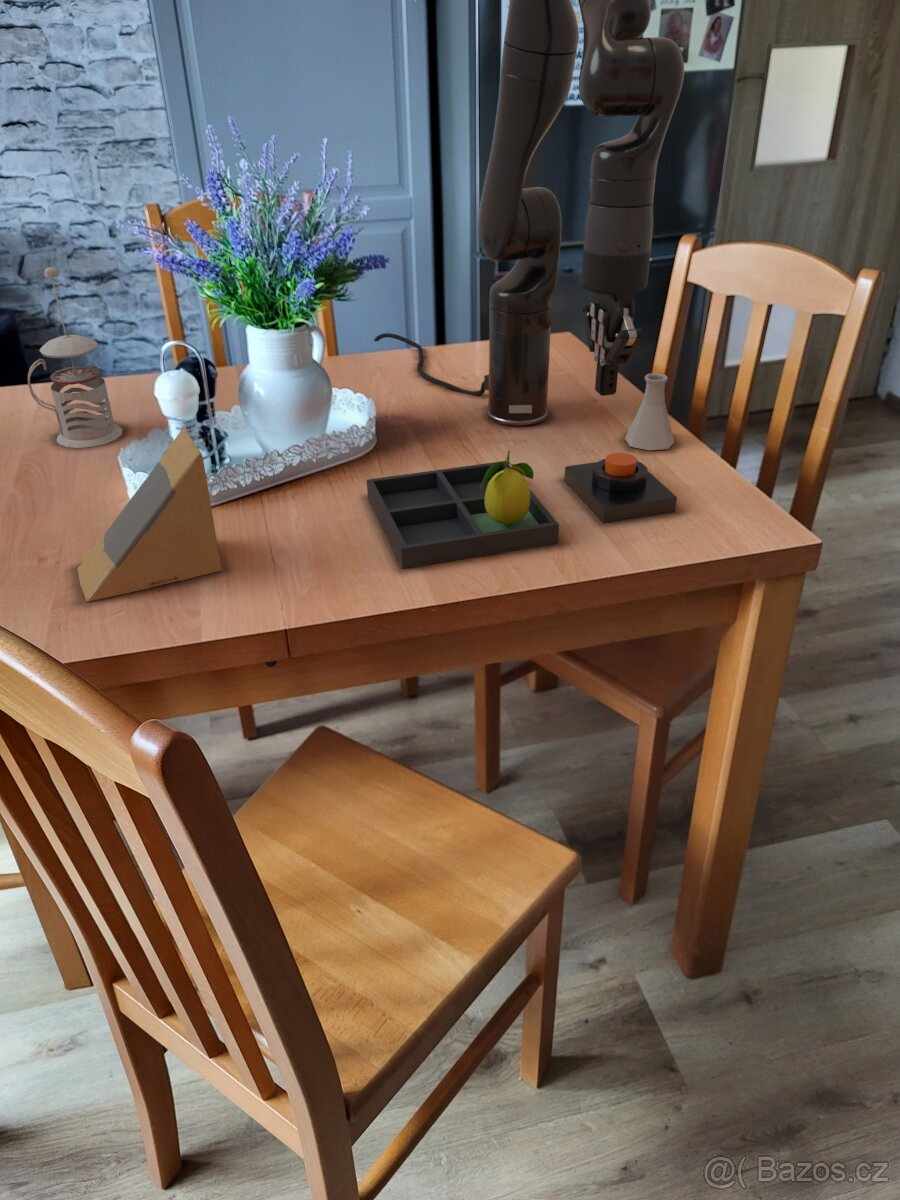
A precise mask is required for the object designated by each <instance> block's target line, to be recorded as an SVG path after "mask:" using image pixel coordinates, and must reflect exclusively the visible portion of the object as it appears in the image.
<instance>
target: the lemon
mask: <svg viewBox="0 0 900 1200" xmlns="http://www.w3.org/2000/svg"><path fill="white" fill-rule="evenodd" d="M510 455H511V454H510V450H507V455H506V458H505V459H504V460H501V461H502V462H501V461H495V462H496V463H494V464H493V465H491V466H490V467H489V469H488V470H487V472H486V474H485V477H484V479H483V482H482V485H481V487H482V486H483V485H484V484H485V482H486V481H487V480H488V478H489V477H490V476H491V475H492V474H493V473H494V472H495V471H496V470H497V469H498V468H499V467H500V466H501V465H502V464H503V463H504V462H505V461H507V468H506V469H505V470H502V471H500V472H498V473H496V474H495V475H494V476H493V477H492V478H491V480H490V481H489V483H488V486H487V489H486V493H485V508H486V511H487V513H488V515H489V517H490V518H491V519H492V520H494V521H495V522H498V523H501V524H504V525H505V526H506V527H508V526H510V525H511V524H512V523H516V522H518V521H520V520H522V519H523V518H524V517H525V516H526V514H527V512H528V510H529V505H530V490H531V489H530V486H529V485H530V484H529V483H528V481H527V479H528V478H529V479H531V480H534V470H533V468H532V466H531V465H529V464H528V463H527V462H518V463H511V462H510ZM509 465H510V466H511V467H512V468H513V469H511V468H509ZM526 478H527V479H526ZM481 487H480V488H481Z"/></svg>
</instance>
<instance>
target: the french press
mask: <svg viewBox="0 0 900 1200" xmlns="http://www.w3.org/2000/svg"><path fill="white" fill-rule="evenodd" d="M43 274H44V277H45V278H50V279H51V282H52V286H53V290H54V294H55V299H56V302H57V307H58V311H59V315H60V319H61V324H62V327H63V332H64V335H60V336H57V337H55V338H52V339H50V340H48V341H47V342H46V343H44V344H43V345H42V346H41V347H40V348H39V352H40V353H41V355H42V356H43V357H46V358H51V359H69V358H70V360H71V367H70V366H69V367H64V368H62V369H59V370H56V371H53V372H52V373H51V374H50V377H49V379H50V380H51V382H52V383H51V385H50V390H51V395H52V398H53V402H54V404H52V403H48V402H45V401H44V400H41V399H40V398H39V397H38V396H37V394H36V393H35V392H34V390H33V387H32V384H31V377H32V373H33V372H34V370H35V369H36V367H38V366H40V364H41V365H42V366H43V370H45V371H47V368H48V367H47V364H46V360H45V359H44V358H38V359H37V360H36V361H34V362H33V363H32V364H31V366H30V367H29V370H28V373H27V386H28V389H29V392H30V395H31V396H32V399H33V400H34V401H35V402H36V403H37V404H38V405H39V406H41V407H42V408H44V409H47V410H50V411H53V412H55V416H56V419H57V423H58V427H59V430H60V432H59V434H58V435H57V437H56V440H55V441H56V442H57V443H58V445H60V446H62V447H66V448H72V449H74V448H75V449H84V448H93V447H98V446H102V445H106V444H109V443H111V442H113V441H116V440H117V439H118V438H120V437H121V436H123V435H122V434H123V432H124V431H123V428H122V427H121V426H119V425H118V424H117V423H115V421H114V417H113V411H112V407H111V402H110V399H109V394H108V390H107V384H106V380H105V379H104V378H103V377H101V376H100V374H101V370H100V368H98V367H95V366H94V367H93V366H90V365H89V366H88V365H82V366H80V365H78V366H75V364H74V360H73V358H76V357H83V356H85V355H90V354H91V353H93V352H95V351H96V350H97V348H98V346H99V344H98V342H97V341H96V340H94V339H92V338H89V337H86V336H83V335H79V334H67V331H66V327H65V323H64V318H63V314H62V309H61V304H60V301H59V297H58V293H57V289H56V284H55V280H54V278H56V277H57V278H58V277H59V275H60V274H59V271H58V269H56V268H55V267H52V266H50V267H46V268H45V270H44V272H43ZM69 385H70V386H73V385H81V386H85V387H87V388H90V389H85V388H83V387H70V388H68V389H66V390H64V391H63V392H61V391H62V390H63V389H64V388H66V387H67V386H69ZM74 401H82V402H83V403H72V402H74ZM84 402H86V403H87V402H88V403H91V404H93V405H96V406H93V405H89V404H88V403H87V404H86V403H84ZM69 403H70V404H69ZM75 409H78V410H77V411H74V410H75ZM86 410H87V411H86ZM72 411H74V412H72ZM89 411H91V412H89ZM92 412H96V413H99V414H98V415H97V414H95V413H92Z"/></svg>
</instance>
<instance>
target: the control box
mask: <svg viewBox="0 0 900 1200" xmlns="http://www.w3.org/2000/svg"><path fill="white" fill-rule="evenodd" d="M605 459H606V458H603V459H601V460H599V461H593V462H587V463H580V464H573V465H566V466H564V476H563V477H564V479H563V482H565V484H566V485H567V486H568V487H569V488H570V489H571V490H572V491H573V492H574V493H575V494H576V495H577V497H578V498H579V499H580V500H581V501H582V502H583V503H584V504H585V505H586V506H587V507H588V509H589V510H590V511H591V512H592V513H593V515H595V516H596V517H597V519H599V521H600V522H601V523H602V524H607V523H613V522H614V523H615V522H620V521H628V520H632V519H633V520H634V519H638V518H639V519H640V518H646V517H647V518H648V517H651V516H652V517H653V516H659V515H664V514H665V515H666V514H671V513H672V514H673V513H676V509H677V501H678V497H677V495H676V494H674V493H673V492H672V491H671V490H670V489H669V488H668V487H666V485H664V483H662V482H661V481H660V480H658V478H657V477H656V476H654V475H653V474H652V473H651V472H650V471H648V467H647V466H646V465H645V464H644V463H643V462H641V461H639V460H637V464H636V473H635V474H633V475H630V476H614V475H611V474H608V473H606V472H605Z"/></svg>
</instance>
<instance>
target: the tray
mask: <svg viewBox="0 0 900 1200" xmlns="http://www.w3.org/2000/svg"><path fill="white" fill-rule="evenodd" d="M502 461H503V460H501V461H500V462H502ZM504 461H505V460H504ZM496 462H497V461H494V462H488V463H479V464H473V465H465V466H457V467H451V468H442V469H435V470H434V469H433V470H427V471H420V472H413V473H412V472H411V473H405V474H398V475H391V476H384V477H375V478H369V479H366V490H367V499H368V502H369V503H370V506H371V507H372V509H373V511H374V514H375V516H376V518H377V520H378V522H379V524H380V527H381V528H382V530H383V533H384V535H385V536H386V539H387V541H388V543H389V544H390V546H391V549H392V552H393V553H394V555H395V557H396V559H397V561H398V563H399V565H400V567H401V569H402V570H403V569H409V568H415V567H416V568H417V567H420V566H421V567H422V566H428V565H434V564H440V563H441V564H442V563H447V562H453V561H459V560H466V559H471V558H478V557H484V556H491V555H497V554H503V553H510V552H514V551H515V552H516V551H521V550H526V549H527V550H528V549H533V548H539V547H540V548H541V547H546V546H547V547H548V546H553V545H558V544H559V532H560V523H559V522H558V521H557V520H556V519H555V518H554V516H553V515H552V514H551V513H550V512H549V510H547V508H546V507H545V506H544V505H543V503H542V502H541V501H540V500H539V499H538V497H537V496H536V495H535V494H534V492H533V491H532V490H531V489H530V505H529V510H528V512H527V514H526V516H525V517H524V518H523V519H522V520H520V521H518V522H516V523H512V524H511V525H510V526H508V527H506V526H505V525H504V524H501V523H498V522H495V521H494V520H492V519H491V518H490V517H489V515H488V513H487V511H486V508H485V493H486V489H487V486H488V483H489V481H490V480H491V478H492V477H493V476H494V475H495V474H496V473H498V472H500V471H502V470H505V469H506V468H507V460H506V461H505V462H504V463H503V464H502V465H501V466H500V467H499V468H498V469H497V470H496V471H495V472H494V473H493V474H492V475H491V476H490V477H489V478H488V480H487V481H486V482H485V484H484V485H483V486H482V487H481V485H482V482H483V479H484V477H485V474H486V472H487V470H488V469H489V467H490V466H491V465H493V464H494V463H496ZM511 466H512V465H511V464H509V468H511V469H513V468H512V467H511ZM513 470H514V469H513ZM480 487H481V488H480Z"/></svg>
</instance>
